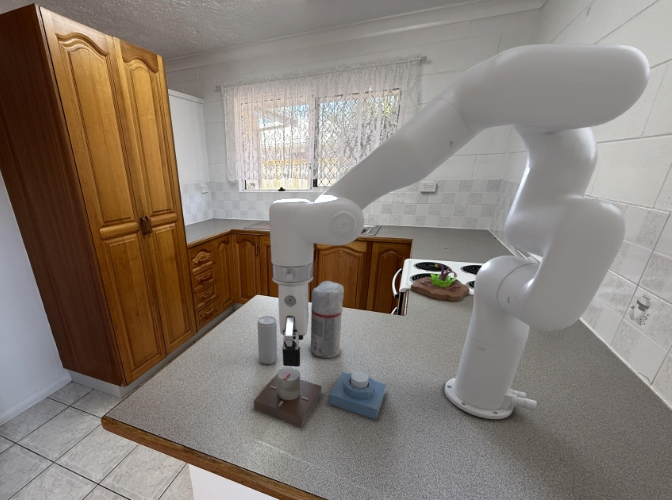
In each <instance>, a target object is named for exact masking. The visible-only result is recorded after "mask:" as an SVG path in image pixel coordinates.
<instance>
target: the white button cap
mask: <svg viewBox="0 0 672 500" xmlns="http://www.w3.org/2000/svg"><path fill="white" fill-rule="evenodd" d="M351 373H352V374H351ZM351 373H350V374H351V385H352V386H353V387H355V388H359V389H365V388H366V387H367V386H368V379H369V378H368V376H369V375H368V374H367V373H365V372H362V371H354V372H351Z"/></svg>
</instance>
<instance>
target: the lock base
mask: <svg viewBox="0 0 672 500" xmlns="http://www.w3.org/2000/svg"><path fill="white" fill-rule="evenodd" d="M322 389H323V386H322V385H319V384H317V383H313V382H310V381H307V380H304V379H301V378H300V395H299V396H298V397H297V398H296V399H294V400H284V399H282V398H280V397H279V395H278V386H277V373H276V374H275V375H274V376H273V377H272V379H271V380H270V381H269V382H268V383H267V384H266V386H265V387H264V388H262V390H261V391H260V393H258V395H257V396H256V397H255V399H253V409H254V411H257V412H260V413H262V414H264V415H266V416H267V415H268V416H269V417H272V418H275V419H277V420H280V421H281V422H285V423H287V424H290V425H293V426H295V427H297V428H299V429H300V428H301V429H302V428H303V427H304V426H305V425H304V424H305V423H306V421H307V420H308V418H309V416H310V415H311V413H312V411H313V410H314V408H315V406H316V405H317V403H318V401H319V399H320V398H321V396H322Z"/></svg>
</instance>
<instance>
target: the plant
mask: <svg viewBox="0 0 672 500" xmlns="http://www.w3.org/2000/svg"><path fill="white" fill-rule="evenodd" d="M434 267H435V268H439V267H440V268H441V271H440V273H437V275H436V274H435V273H430V276H426V277H422V278H418V279H414V280H413V283H411V285H410V291H412V292H415V293H418V294H420V295H422V296H426V297H429V298H431V299H436V300H438V301H449V302H459V301H461V300H462V299H463V298H464V297H465V296H469V294H470V291H471V289H470V287H469V286H468V285H467V284H465V283H461V282H458V280H457V278H458V273H456V272H455V271H453V268H450V267H449V268H447V269H446V270H445V268H444V265H443V263H435V265H434ZM449 274H453V278H452V279H451V277H452V276H451V275H449Z"/></svg>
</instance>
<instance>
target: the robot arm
mask: <svg viewBox="0 0 672 500" xmlns="http://www.w3.org/2000/svg"><path fill="white" fill-rule="evenodd" d="M650 73H651V66H650V61H649V60H648V58H647V56H646V55H645V54H644V53H643V52H642V51H641V49H638V48H637V47H635V46H632V45H628V44H624V43H622V44H621V43H576V44H575V43H542V44H541V43H540V44H525V45H518V46H514V47H511V48H507V49H505V50H503V51H501V52H499V53H497V54H495V55H493V56H491V57H489V58H487V59H485V60H483V61H480V62H478V63H476V64H475V65H473V66H471V67H469V68H468V69H466V70H465V71H463V72H461V74H459V75H457V77H456V78H454V79H453V80H452V81H451V82H450V83H449V84H447V86H445V87H444V88H443V89H442V90H440V92H439V93H437V94H436V96H433V98H432V99H431V100H430V101H428V102H427V104H425V105H424V106H423V107H422V108H421V109H420V110H419V111H418V112H417V113H416V114H414V115H413V116H412V117H411V118H410V119H409V120H408V121H406V122H405V123H404V124H403V125H401V127H399V129H397V130H396V131H395V132H394V133H393V134H392V135H391V136H389V137H388V138H386V139H385V140H384V141H383V142H382V143H380V144H379V145H377V147H375V148H374V149H373V150H372V151H371V152H370V153H369V154H367V155H366V156H365V157H363V159H361V160H360V161H358V162H357V163H355V165H353V166H352V167H351V168H350V169H348V171H346V172H345V173H344V174H343V175H341V176H340V177H339V178H338V179H337V180H336V181H334V183H332V184H331V185H330V186H329V187H328V188H327V189H326V190H325V191H324V192H323V193H322V194H321V195H320V196H318V197H317V199H316V200H315V201H314V202H312V201H310V200H308V199H305V198H304V199H302V198H287V199H279V200H276V201H273V202H271V204H270V206H269V209H268V217H269V220H268V221H269V238H270V239H269V240H270V241H269V242H270V260H271V264H270V265H271V280H272V282H274V283H275V284H277V287H278V288H277V291H278V292H277V293H278V295H277V296H278V321H279V322H278V323H279V332H280V334H281V335H282V336H283V337H282V338H283V339H282V347H281V349H282V366H284V367H294V368H295V367H296V368H298V367H300V366H301V347H300V346H299V343H300V341H303V340H304V336H306V335H307V333H308V328H309V327H308V326H309V317H310V316H309V313H310V312H309V283H311V282H312V281H313V280H314V244H319V245H326V246H327V245H328V246H345V245H348V244H351V243H353V242H354V241H356V240H357V239H358V238H359V237H360V235H361V234H362V233H363V230H364V228H365V215H364V212H363V210H364V209H365V208H367V207H369V205H370V204H372V203H374V202H375V201H377V200H378V199H380V198H382V197H383V196H386V195H388V194H389V193H392V192H394V191H397V190H400V189H404V188H407V187H409V186H411V185H412V186H413V185H414V184H417V183H418V182H420V181H423V180H424V179H426V178H427V177H428V176H430V175H431V174H432V173H433V172H434V171H435V170H437V169H438V168H439V167H440V166H442V164H444V163H445V162H447V160H449V159H450V158H451V157H452V156H453V155H455V154H456V153H457V152H458V151H459V150H461V148H463V147H464V146H466V145H467V144H468V143H470V141H472V140H473V139H474V138H475V137H477V136H478V135H479V134H480V133H482V132H483V131H485V130H487V129H489V128H495V127H501V126H507V125H511V127H512V128H513V129H514V130H515V132H516V133H517V134H518V135H519V137H520V139H521V141H522V143H523V145H524V148H525V154H526V163H525V167H524V170H523V173H522V178H521V180H520V184H519V185H518V189H517V191H516V194H515V196H514V199H513V201H512V204H511V207H510V209H509V212H508V215H507V218H506V220H505V224H504V227H503V238H504V240H505V241H506V243H507V244H509V246H511V247H513V248H516V249H517V250H520V251H523V252H526V253H529V254H531V255H534V256H537V257H541V261H540V263H539V262H536V261H534V260H530V259H529V258H528V259H527V258H525V257H521V256H516V255H509V254H508V255H507V254H506V255H499V256H496V257H494V258H491V259H489V260H487V261H486V262H484V264H482V266H480V268H479V270H478V271H477V273H476V276H475V278H474V284H473V302H472V303H473V304H472V311H471V316H470V321H469V324H468V328H467V333H466V336H465V341H464V344H463V347H462V352H461V355H460V360H459V364H458V368H457V371H456V375H455V377H453V378H450V379H448V380H447V381H446V383H445V385H444V394H445V396H446V398H447V399H448V400H449V401H450V403H452V404H453V405H454V406H456V407H457V408H458V409H460V410H462V411H464V412H465V413H467V414H470V415H472V416H475V417H478V418H481V419H487V420H502V419H505V418H508V417H510V416H511V415H512V413H513V411H514V408H515V407H521V408H523V409H527V410H531V411H534V412H535V411H536V410H537V406H538V403H537V400H533V399H530V398H527V393H526V392H523V391H519V390H514V389H513V388H512V384H513V381H514V378H515V375H516V372H517V369H518V366H519V364H520V362H521V361H520V360H521V358H522V356H523V352H524V349H525V346H526V344H527V341H528V338H529V335H530V327H531V328H533V329H535V330H539V331H542V332H557V331H561V330H564V329H566V328H569V327H571V326H572V325H574V324H575V322H578V320H579V319H580V318H581V317H582V316H583V315H584V313H586V311H587V309H588V308H589V307H590V305H591V303H592V301H593V299H594V298H595V296H596V295H597V293H598V291H599V288H600V287H601V285H602V283H603V281H604V280H605V278H606V276H607V274H608V272H609V270H610V268H611V267H612V265H613V263H614V261H615V260H616V257H617V255H618V253H619V251H620V250H621V248H622V245H623V242H624V239H625V235H626V220H625V216H624V214H623V212H622V211H621V210H620V208H618V207H617V206H616V205H614V204H613V203H611V202H608V201H605V200H601V199H596V198H586V197H585V194H586V191H587V189H588V186H589V183H590V182H591V178H592V176H593V173H594V171H595V168H596V165H597V162H598V156H599V155H598V152H599V151H598V144H597V140H596V137H595V134H594V132H593V129H592V128H593V127H598V126H601V125H604V124H607V123H609V122H611V121H614V120H615V119H618V118H619V117H620V116H622V115H624V114H625V113H626V112H627V111H629V110H630V109H631V108H632V107H633V106H634V105H635V104H636V103H637V102H638V101H639V99H640V98H641V97H642V95H643V94H644V92H645V90H646V89H647V86H648V83H649V81H650V75H651V74H650Z"/></svg>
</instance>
